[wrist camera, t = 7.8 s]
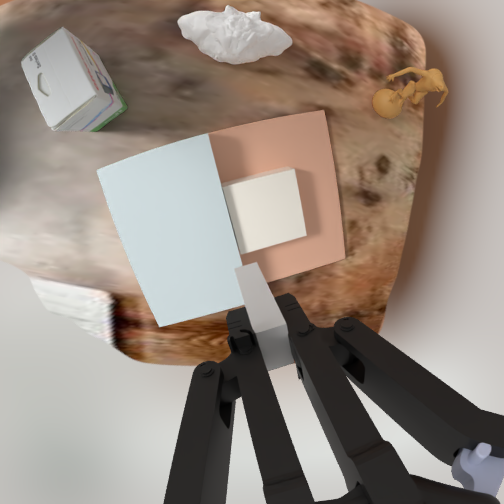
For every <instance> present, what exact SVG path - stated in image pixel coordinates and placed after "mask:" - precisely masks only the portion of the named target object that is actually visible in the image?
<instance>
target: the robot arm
mask: <svg viewBox="0 0 504 504" xmlns="http://www.w3.org/2000/svg"><path fill="white" fill-rule="evenodd" d="M234 270H235V274H236V277H237V281H238V284H239V288H240V291H241V294H242V298H243V301H244V305H245V307H243V308H240V309H236V310H233V311H229V312H228V314H227V317H226V320H227V325H228V330H229V336H228V338H227V342H228V344H229V347H230V349H231V354H230V355H229V356H228V357H227V358H226V359H225V360H223V361H222V362H220V363H216V362H214V361H206V362H203V363H201V364H199V365H198V366H197V367H196V368H195V370H194V372H193V375H192V379H191V384H190V387H189V392H188V396H187V400H186V404H185V408H184V413H183V417H182V421H181V425H180V430H179V434H178V439H177V443H176V447H175V452H174V456H173V461H172V466H171V470H170V475H169V480H168V484H167V489H166V494H165V499H164V504H225V503H226V494H227V484H228V474H229V464H230V454H231V443H232V433H233V424H234V413H235V403H236V401H235V400H236V399H238V398H240V397H241V396H242V400H243V405H244V409H245V413H246V418H247V422H248V426H249V430H250V434H251V438H252V442H253V446H254V450H255V454H256V457H257V462H258V465H259V469H260V473H261V476H262V481H263V491H264V496H265V500H266V503H267V504H500V502H499V501H498V499H497V498H495V497H496V495H497V492H498V490H499V487H500V485H501V483H502V480H503V477H504V416H503V415H499V414H496V413H492V412H488V411H485V410H481V409H479V408H478V407H477V406H475V405H474V404H473V403H471V402H470V401H469V400H467V399H466V398H464V397H463V396H462V395H460V394H459V393H458V392H456V391H455V390H454V389H452V388H451V387H450V386H448V385H447V384H446V383H444V382H443V381H441V380H440V379H438V378H437V377H436V376H435V375H433V374H432V373H431V372H429V371H428V370H426V369H425V368H424V367H422V366H421V365H420V364H418V363H417V362H415V361H414V360H413V359H411V358H410V357H409V356H407V355H406V354H404V353H403V352H402V351H400V350H399V349H398V348H396V347H395V346H393V345H392V344H391V343H389V342H388V341H386V340H385V339H384V338H382V337H381V336H380V335H378V334H377V333H376V332H374V331H373V330H371V329H370V328H369V327H367V326H366V325H364V324H363V323H362V322H360V321H359V320H358V319H355V318H352V317H344V318H341V319H339V320H338V321H336V322H335V324H334V327H329V328H319V327H316V326H315V325H314V324H312V323H310V321H309V320H308V318H307V316H306V315H305V313H304V311H303V310H302V308H301V306H300V305H299V303H298V301H297V300H296V298H295V297H294V296H293V295H291V294H289V293H287V294H284V295H281V296H277V297H273V295H272V293H271V291H270V289H269V287H268V284H267V282H266V280H265V278H264V276H263V274H262V272H261V270H260V268H259V266H258V264H257V262H255V263H252V264H248V265H245V266H241V267H238V268H234ZM293 358H294V359H293ZM294 361H295V363H296V367H297V373H298V378H299V379H301V380H302V383H303V385H304V387H305V389H306V392H307V394H308V396H309V399H310V401H311V403H312V406H313V408H314V410H315V412H316V414H317V417H318V419H319V421H320V424H321V426H322V428H323V430H324V433H325V435H326V437H327V440H328V442H329V444H330V446H331V449H332V451H333V453H334V455H335V458H336V460H337V462H338V464H339V467H340V468H341V471H342V473H343V476H344V478H345V482H346V486H347V489H348V491H349V492H348V493H347V494H345V495H344V496H343V497H341V498H338V499H333V500H326V501H318V502H315V501H314V499H313V497H312V494H311V491H310V489H309V485H308V483H307V480H306V478H305V475H304V473H303V470H302V468H301V465H300V462H299V459H298V457H297V454H296V451H295V449H294V445H293V443H292V440H291V437H290V434H289V431H288V429H287V426H286V423H285V420H284V417H283V414H282V411H281V409H280V406H279V403H278V400H277V397H276V394H275V391H274V388H273V385H272V383H271V379H270V377H269V374H268V371H270V370H273V369H277V368H280V367H283V366H286V365H289V364H292V363H294ZM346 376H347V377H348V378H349V379H350V380H351V381H352V382H353V383H354V384H355V385H356V386H357V387H358V388H359V389H361V390H362V391H363V392H364V393H365V394H366V395H367V396H368V397H369V398H370V399H371V400H372V401H373V402H374V403H376V404H377V405H378V406H379V407H380V408H381V409H382V410H383V411H384V412H385V413H386V414H388V415H389V416H390V417H391V418H392V419H393V420H394V421H395V422H396V423H397V424H399V425H400V426H401V427H402V428H403V429H404V430H405V431H406V432H407V433H409V434H410V435H411V436H412V437H413V438H414V439H415V440H416V441H418V442H419V443H420V444H421V445H422V446H423V447H424V448H425V449H426V450H428V451H429V452H430V453H431V454H432V455H434V456H435V457H436V458H437V459H439V460H440V461H442V462H444V463H446V464H447V465H450V466H452V470H451V472H452V475H453V478H454V479H455V480H457V481H459V482H460V483H461V484H462V485H463V487H464V489H463V488H459V487H455V486H451V485H447V484H443V483H440V482H436V481H433V480H429V479H426V478H423V477H420V476H416V475H411V474H409V473H408V471H407V469H406V468H405V466H404V464H403V462H402V461H401V459H400V457H399V456H398V454H397V452H396V450H395V449H394V447H393V446H392V444H391V443H390V442H388V441H385V440H383V438H382V437H381V435H380V433H379V432H378V430H377V428H376V427H375V425H374V423H373V421H372V420H371V418H370V416H369V414H368V413H367V411H366V409H365V408H364V406H363V404H362V403H361V401H360V399H359V397H358V396H357V394H356V392H355V391H354V389H353V387H352V385H351V384H350V382H349V380H348V379H347V377H346Z"/></svg>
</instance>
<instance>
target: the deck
mask: <svg viewBox="0 0 504 504" xmlns="http://www.w3.org/2000/svg"><path fill="white" fill-rule="evenodd" d="M97 173H98V176H99V180H100V183H101V186H102V189H103V192H104V195H105V198H106V201H107V204H108V207H109V210H110V212H111V215H112V218H113V221H114V223H115V226H116V229H117V231H118V234H119V237H120V239H121V242H122V244H123V247H124V249H125V252H126V254H127V257H128V259H129V262H130V264H131V266H132V269H133V271H134V273H135V276H136V278H137V280H138V283H139V285H140V287H141V289H142V291H143V294H144V296H145V298H146V300H147V302H148V304H149V307H150V309H151V311H152V313H153V315H154V317H155V319H156V321H157V323H158V325H159V327H162V326H166V325H170V324H174V323H178V322H182V321H186V320H189V319H193V318H197V317H201V316H205V315H208V314H212V313H216V312H219V311H223V310H227V309H230V308H234V307H237V306H241V305H244V301H243V298H242V294H241V291H240V288H239V284H238V281H237V277H236V274H235V270H234V268H238V267H241V266H243V265H242V262H241V258H240V254H239V251H238V247H237V243H236V239H235V236H234V232H233V228H232V224H231V221H230V217H229V213H228V209H227V206H226V202H225V198H224V194H223V190H222V187H221V183H220V179H219V175H218V171H217V167H216V163H215V160H214V156H213V152H212V148H211V144H210V140H209V136H208V133H206V134H202V135H198V136H195V137H191V138H188V139H184V140H181V141H177V142H174V143H171V144H168V145H165V146H161V147H158V148H155V149H152V150H149V151H146V152H143V153H140V154H138V155H135V156H132V157H129V158H126V159H124V160H121V161H118V162H116V163H113V164H111V165H108V166H106V167H103V168H101V169H98V170H97Z"/></svg>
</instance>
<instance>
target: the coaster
mask: <svg viewBox="0 0 504 504" xmlns="http://www.w3.org/2000/svg"><path fill="white" fill-rule="evenodd" d="M221 187H222V190H223V194H224V198H225V202H226V205H227V209H228V213H229V216H230V220H231V224H232V227H233V231H234V235H235V238H236V242H237V245H238V248H239V251H240V254H245V253H248V252H252V251H255V250H259V249H262V248H265V247H269V246H272V245H276V244H279V243H283V242H286V241H290V240H293V239H296V238H300V237H303V236H307V234H306V228H305V222H304V217H303V211H302V206H301V200H300V195H299V189H298V184H297V179H296V174H295V169H293V168H291V167H288V166H287V167H283V168H278V169H274V170H270V171H266V172H262V173H258V174H254V175H250V176H246V177H243V178H239V179H235V180H231V181H228V182H224V183H221Z"/></svg>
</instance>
